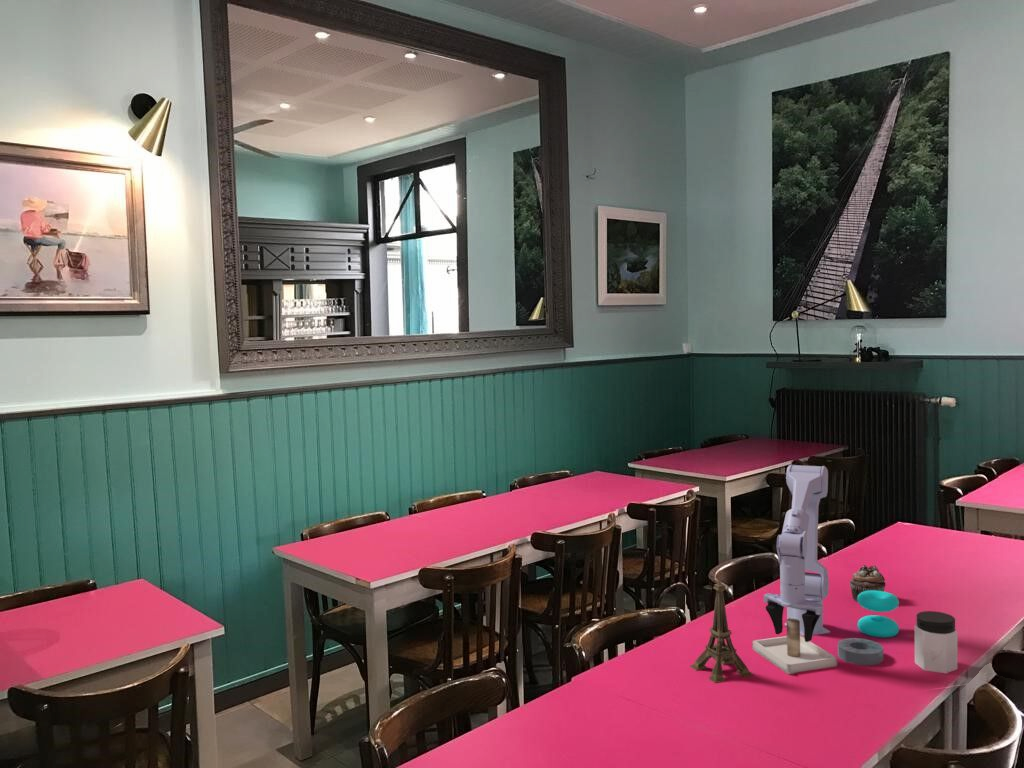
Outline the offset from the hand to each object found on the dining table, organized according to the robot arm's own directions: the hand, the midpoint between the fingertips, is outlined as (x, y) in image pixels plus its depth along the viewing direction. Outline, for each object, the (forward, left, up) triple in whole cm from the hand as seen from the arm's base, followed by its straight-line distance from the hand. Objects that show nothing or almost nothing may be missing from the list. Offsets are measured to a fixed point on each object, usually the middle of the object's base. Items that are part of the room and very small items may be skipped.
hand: (793, 636), depth 203 cm
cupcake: (-31, +44, -6) cm, 54 cm away
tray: (0, 0, -5) cm, 5 cm away
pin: (0, 0, -4) cm, 5 cm away
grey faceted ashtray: (+5, +15, -5) cm, 17 cm away
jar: (+15, +28, -6) cm, 32 cm away
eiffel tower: (+1, -20, -6) cm, 21 cm away
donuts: (-8, +30, -6) cm, 32 cm away
